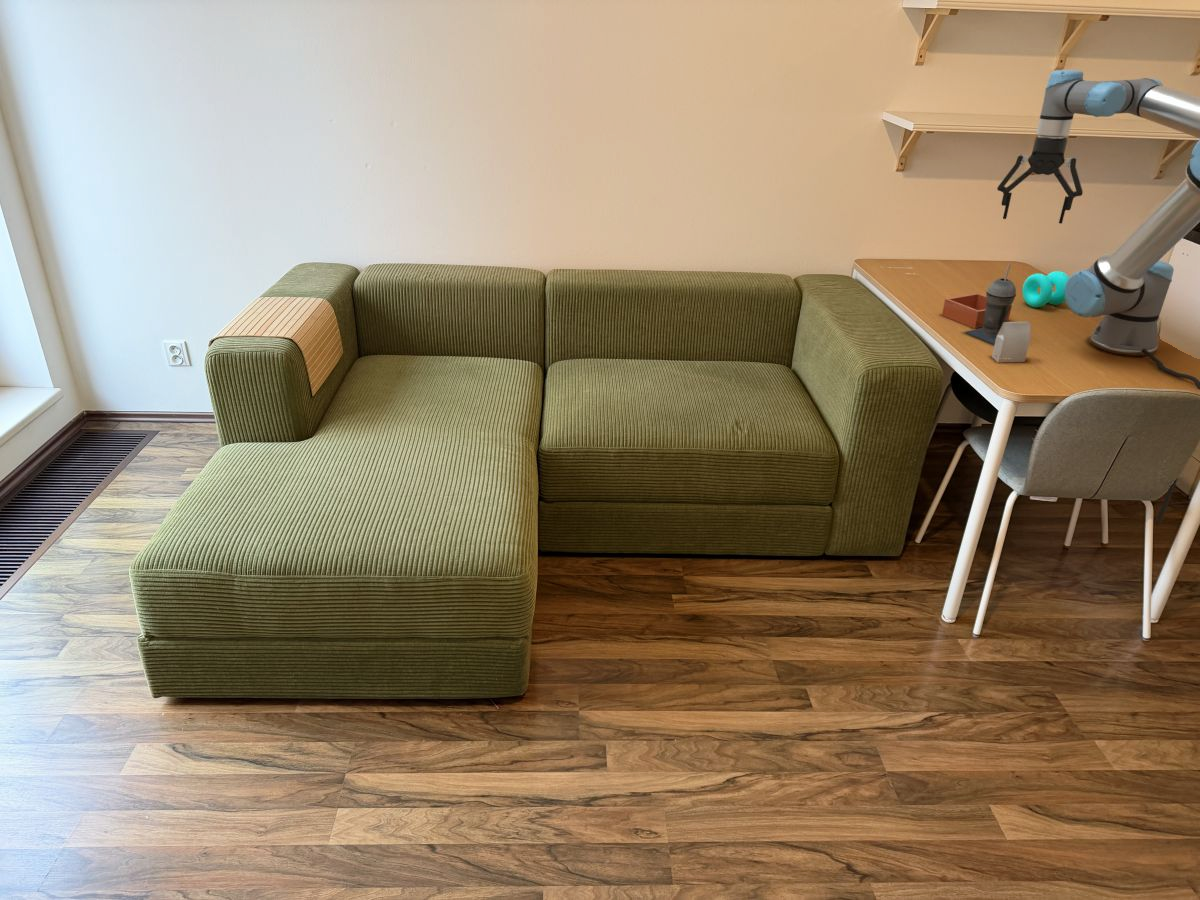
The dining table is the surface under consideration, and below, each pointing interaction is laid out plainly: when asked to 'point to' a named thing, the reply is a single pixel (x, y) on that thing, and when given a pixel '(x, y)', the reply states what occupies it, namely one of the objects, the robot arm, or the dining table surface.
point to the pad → (981, 336)
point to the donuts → (1045, 289)
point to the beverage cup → (998, 305)
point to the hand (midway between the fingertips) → (1032, 220)
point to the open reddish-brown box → (967, 309)
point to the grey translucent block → (1012, 342)
